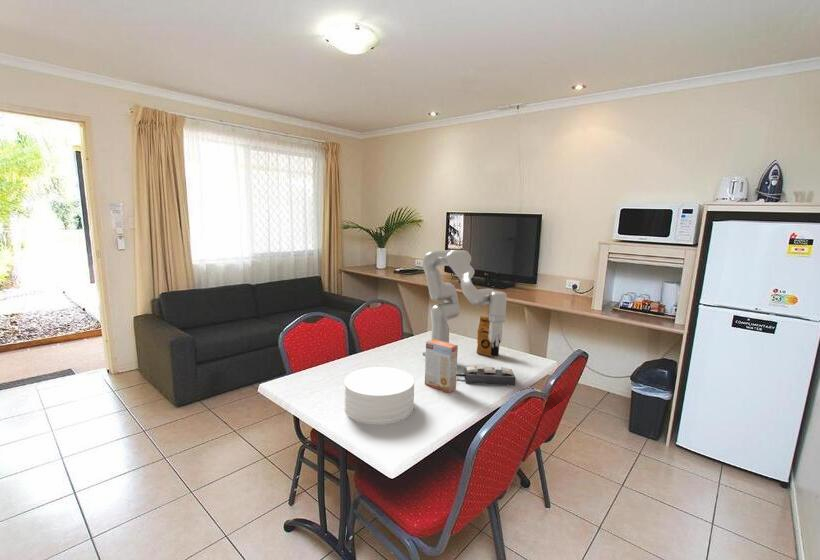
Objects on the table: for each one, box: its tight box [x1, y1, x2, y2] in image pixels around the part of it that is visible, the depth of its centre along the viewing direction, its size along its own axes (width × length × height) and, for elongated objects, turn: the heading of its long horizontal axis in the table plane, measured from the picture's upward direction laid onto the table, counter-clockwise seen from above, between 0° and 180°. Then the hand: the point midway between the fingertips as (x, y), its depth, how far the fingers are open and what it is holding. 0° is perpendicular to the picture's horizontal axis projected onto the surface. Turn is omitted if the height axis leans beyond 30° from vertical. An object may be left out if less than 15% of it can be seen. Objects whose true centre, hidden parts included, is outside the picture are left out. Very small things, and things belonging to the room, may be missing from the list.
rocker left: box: [465, 365, 479, 373], centre depth 185 cm, size 5×4×1 cm
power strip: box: [456, 367, 517, 387], centre depth 185 cm, size 29×9×5 cm, turn 86°
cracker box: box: [424, 339, 459, 393], centre depth 175 cm, size 14×6×21 cm, turn 49°
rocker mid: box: [483, 366, 497, 373], centre depth 184 cm, size 5×4×1 cm
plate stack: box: [343, 366, 415, 425], centre depth 156 cm, size 28×28×12 cm
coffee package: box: [476, 315, 500, 358], centre depth 221 cm, size 10×12×22 cm
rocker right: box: [500, 366, 514, 375], centre depth 184 cm, size 5×4×1 cm
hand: (494, 355), depth 183 cm, fingers closed
